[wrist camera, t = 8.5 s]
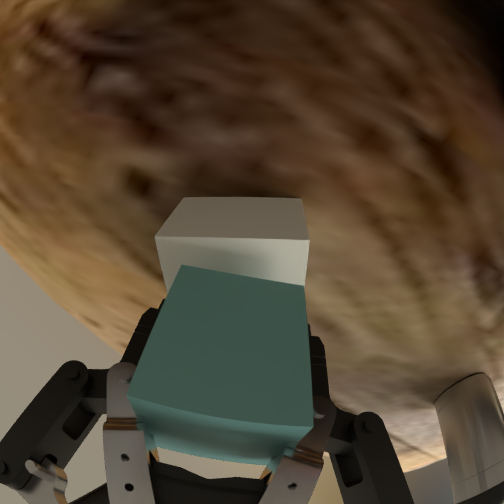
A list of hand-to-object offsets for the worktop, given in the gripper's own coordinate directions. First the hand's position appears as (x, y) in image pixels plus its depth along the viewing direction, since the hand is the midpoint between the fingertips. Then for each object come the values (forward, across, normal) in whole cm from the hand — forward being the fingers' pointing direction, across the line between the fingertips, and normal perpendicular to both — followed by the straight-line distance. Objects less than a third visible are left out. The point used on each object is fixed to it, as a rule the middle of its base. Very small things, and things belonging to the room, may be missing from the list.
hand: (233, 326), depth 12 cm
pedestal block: (+7, 0, 0) cm, 7 cm away
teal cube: (0, 0, 0) cm, 0 cm away
